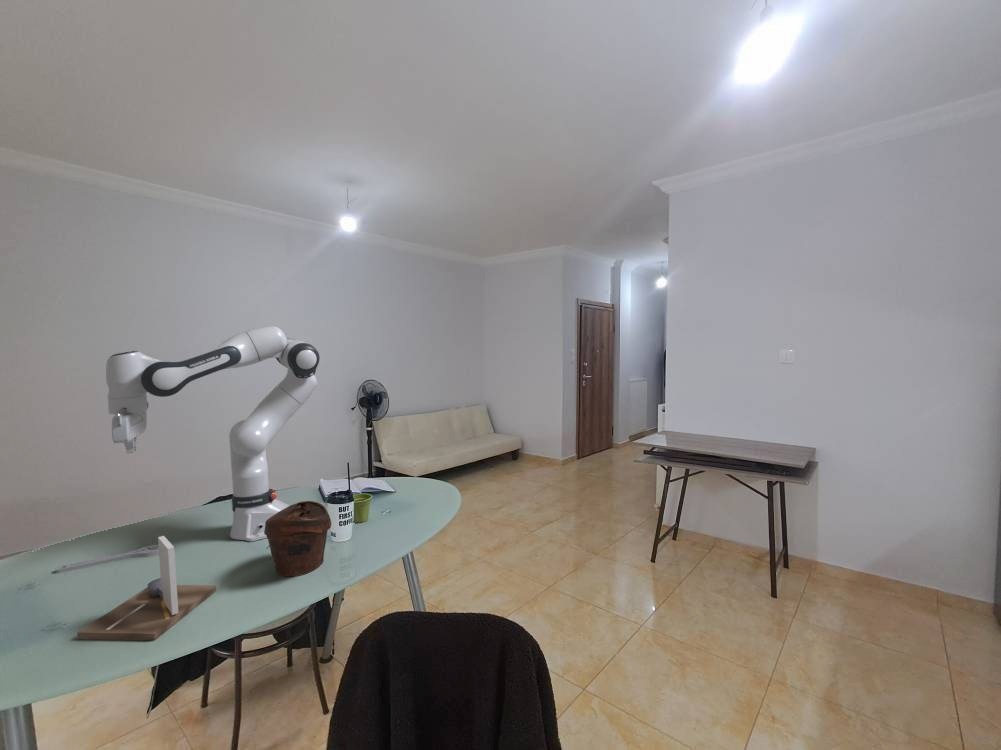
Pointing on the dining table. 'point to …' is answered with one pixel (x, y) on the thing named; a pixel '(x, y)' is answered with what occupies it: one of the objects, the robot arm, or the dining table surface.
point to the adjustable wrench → (111, 558)
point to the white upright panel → (166, 577)
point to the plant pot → (361, 507)
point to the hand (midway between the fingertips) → (131, 452)
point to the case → (298, 537)
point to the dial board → (145, 615)
